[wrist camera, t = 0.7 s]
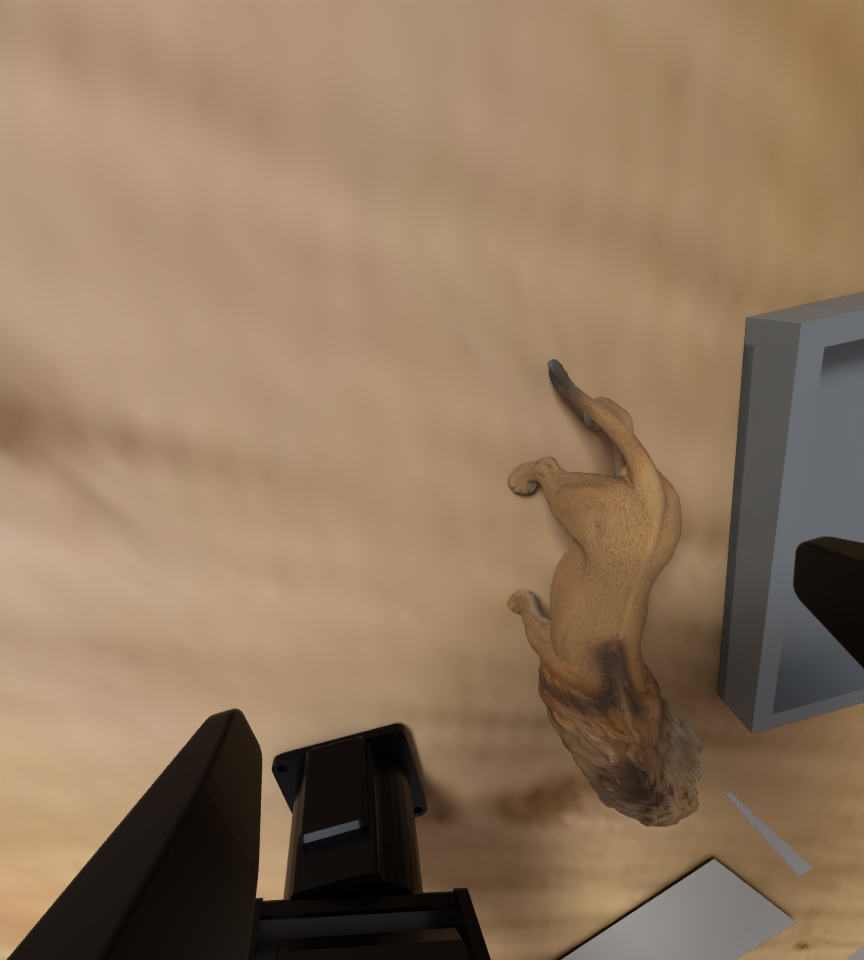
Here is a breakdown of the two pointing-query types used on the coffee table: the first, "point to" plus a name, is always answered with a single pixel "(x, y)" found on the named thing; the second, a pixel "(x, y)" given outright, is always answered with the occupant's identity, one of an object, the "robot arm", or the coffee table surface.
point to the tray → (792, 509)
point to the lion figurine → (610, 622)
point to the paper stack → (699, 915)
